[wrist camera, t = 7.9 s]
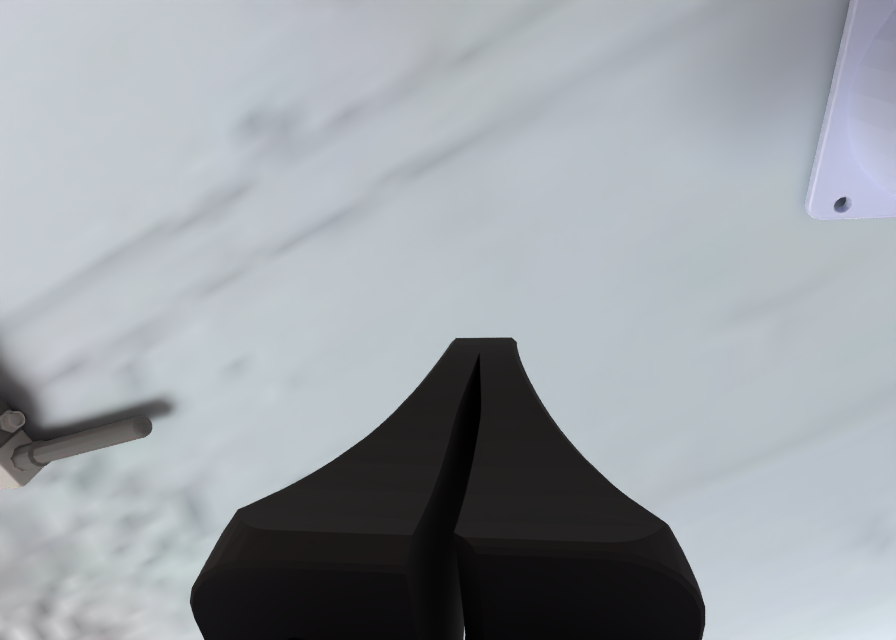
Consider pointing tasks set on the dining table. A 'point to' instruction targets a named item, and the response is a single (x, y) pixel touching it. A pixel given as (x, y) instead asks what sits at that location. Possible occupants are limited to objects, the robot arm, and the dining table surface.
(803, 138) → the dining table surface
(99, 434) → the walkie-talkie
